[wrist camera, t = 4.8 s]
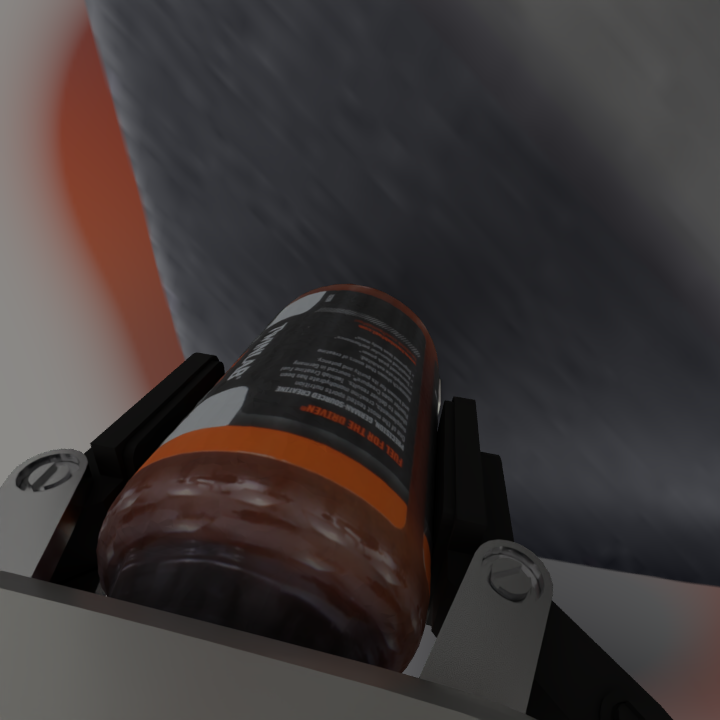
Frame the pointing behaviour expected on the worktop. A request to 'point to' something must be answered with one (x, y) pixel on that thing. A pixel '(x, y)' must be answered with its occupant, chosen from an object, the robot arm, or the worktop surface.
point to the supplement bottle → (297, 487)
